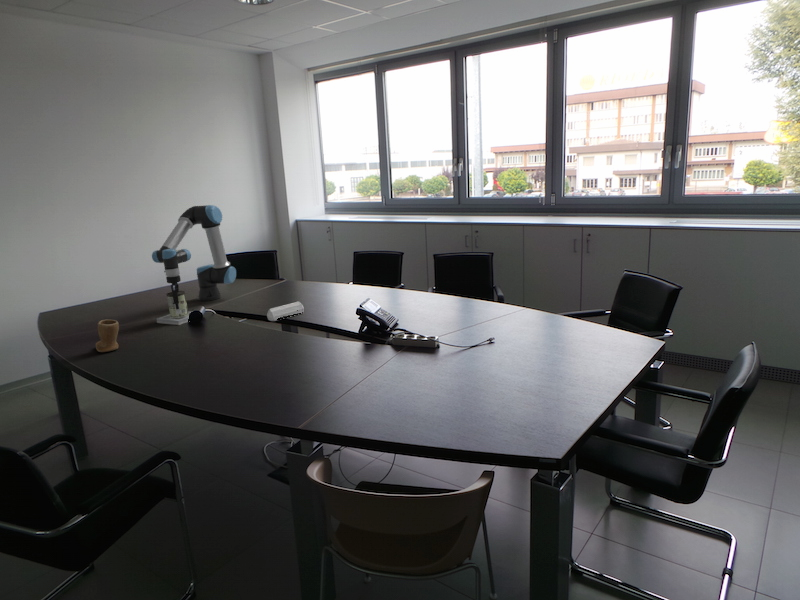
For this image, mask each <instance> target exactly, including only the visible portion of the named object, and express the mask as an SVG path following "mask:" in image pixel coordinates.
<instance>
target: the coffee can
mask: <svg viewBox="0 0 800 600" xmlns="http://www.w3.org/2000/svg"><path fill="white" fill-rule="evenodd" d="M165 295H166V300H167V304H168V310H169V314H170V317H171V318H180V317H185V316H187V315H189V314H188V311H189V309H188V304H187V297H186V292H185V291H184V290H179V291H178V294H177V295H178V300H179V304H180V310H181V314H178V315H176V311H175V305H174V304H173V303H174V300H173V293H172V291H170V292H167V293H166V294H165Z"/></svg>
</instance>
